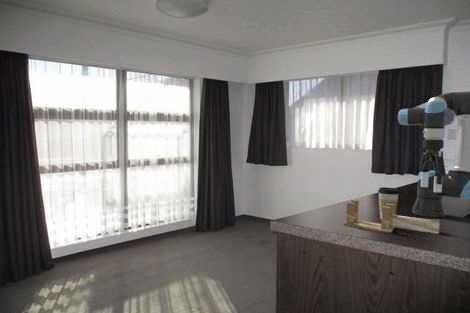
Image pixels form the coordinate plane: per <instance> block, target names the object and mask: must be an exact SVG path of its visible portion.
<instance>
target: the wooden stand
mask: <svg viewBox="0 0 470 313" xmlns="http://www.w3.org/2000/svg"><path fill="white" fill-rule="evenodd" d="M359 202H360V201H359V200H357V199H351V201H347V203H346V220H345V222H343V226H346V225H347V226H346V227H353V228H359V229H360V228H361V229H365V230H372V231H379V232H385V233H392V232H393V231H394V229H395V228H396V227H395V226H392V221H393V204H385V206H383V207H382V219H381V222H380V223H379V222H370V221H364V220H359Z"/></svg>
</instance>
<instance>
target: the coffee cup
mask: <svg viewBox="0 0 470 313" xmlns="http://www.w3.org/2000/svg"><path fill="white" fill-rule="evenodd" d="M377 193H378V208H379V215H380V216H379V217H380V220H382V207H383V206H385V204H393V214H397V213H396V212H397V208H398V207H397V206H398V202H399V200H398V199H399V195H400V191H399V189H398V188H394V187H386V186H384V187H383V186H382V187H379V189H378V191H377Z"/></svg>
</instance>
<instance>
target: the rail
mask: <svg viewBox="0 0 470 313" xmlns="http://www.w3.org/2000/svg"><path fill="white" fill-rule="evenodd" d="M440 222H441V221H440V219H433V218H431V219H429V218H420V217H419V218H418V217H411V216H405V215H404V216H403V215H398V214H397V213H395V214H393V221H392V226H395V228H397V229H403V230H409V231H417V232H423V233H429V232H430V234H438V235H439V234H440Z"/></svg>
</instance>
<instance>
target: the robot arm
mask: <svg viewBox="0 0 470 313" xmlns="http://www.w3.org/2000/svg"><path fill="white" fill-rule="evenodd" d="M397 120H398V124H400V125H401V126H423V131H422V133H423V138H424V139H423V141H422V142H423V143H422V148H423V152H422V156H421V161H420V164H419V168H418V169H419V171H420V172H419V173H418V178H417V190H416V191H417V192H416V193H417V196H416V200H415V202H414V205H413V206H412V213H413V214H414V215H418V216H421V217H427V218H445V217H446V210H445V206H444V203H443V197H444V198H453V199H460V200H470V90H468V91H456V92H455V91H454V92H453V91H452V92H451V91H450V92H446V93H443V94H439V95H437V96H434V97H432V98H430V99H429V100H428V101H426V102H425V103H422V104H420V105H418V106H414V107H412V108H402V109H400V110H399V112H398V115H397ZM455 120H457V121H458V122H457V129H456V135H455V136H456V137H455V143H454V144H455V145H454V154H453V162H452V167H451V168H449V169H448V173H446V168H445V160H444V151H440V150H441V149H442V150H443V149H444V148H445V146H444V145H445V144H444V142H445V140H443V139H445V131H446V130H445V128H446V127H445V126H449V125H451V124H453V123H454V122H455ZM431 165H432V166H433V170H430V168H431Z"/></svg>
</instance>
